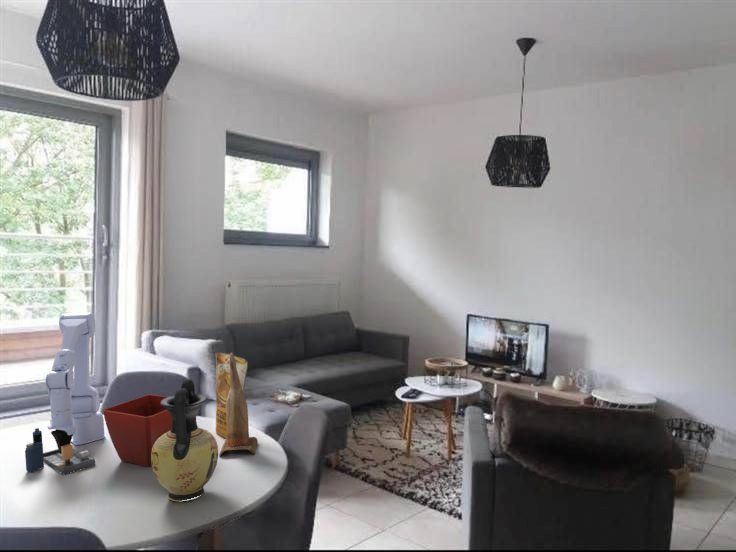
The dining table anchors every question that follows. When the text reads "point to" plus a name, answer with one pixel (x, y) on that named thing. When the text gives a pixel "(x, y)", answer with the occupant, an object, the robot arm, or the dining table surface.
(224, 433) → the pancake mix bag
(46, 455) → the mixer console
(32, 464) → the vaping device
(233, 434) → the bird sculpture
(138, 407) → the plant pot
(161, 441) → the amphora
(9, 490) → the dining table surface
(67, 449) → the orange fader
